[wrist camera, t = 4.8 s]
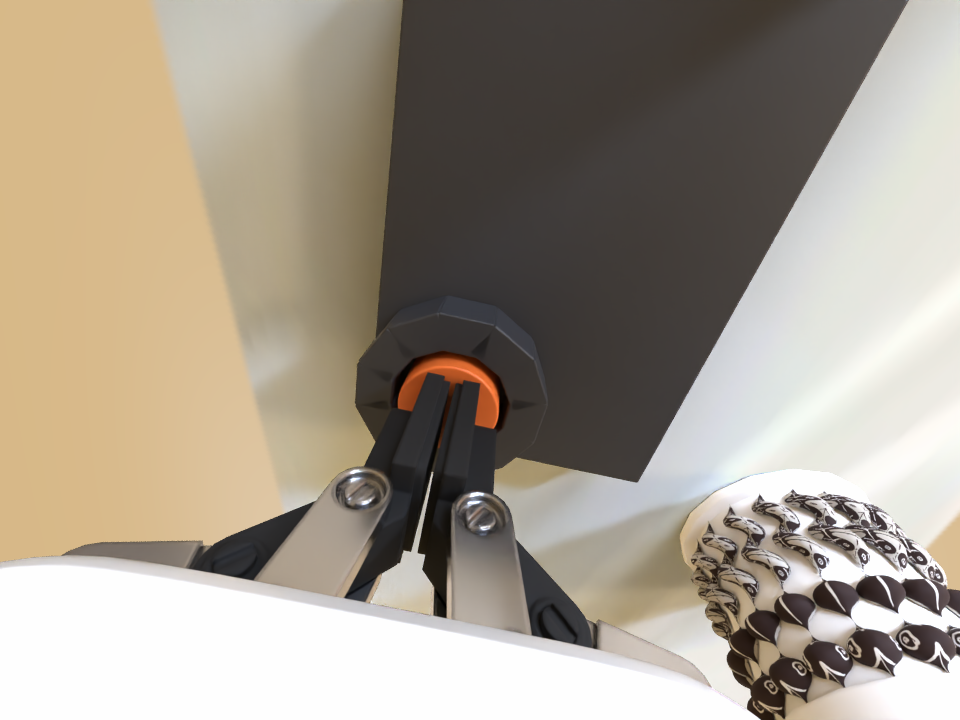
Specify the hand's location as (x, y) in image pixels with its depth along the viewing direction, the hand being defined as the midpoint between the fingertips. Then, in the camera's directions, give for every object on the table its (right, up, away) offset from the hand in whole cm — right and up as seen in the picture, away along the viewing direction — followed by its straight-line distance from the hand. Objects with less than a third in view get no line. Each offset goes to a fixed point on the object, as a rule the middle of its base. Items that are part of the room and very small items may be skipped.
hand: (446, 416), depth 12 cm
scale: (+4, +5, +1) cm, 7 cm away
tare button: (0, +1, +1) cm, 2 cm away
